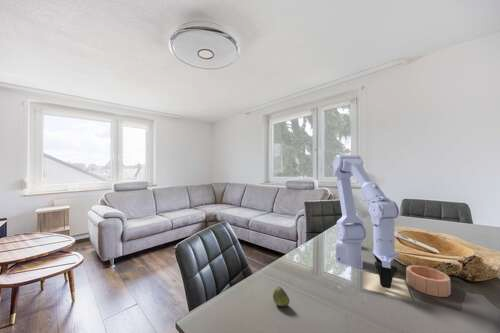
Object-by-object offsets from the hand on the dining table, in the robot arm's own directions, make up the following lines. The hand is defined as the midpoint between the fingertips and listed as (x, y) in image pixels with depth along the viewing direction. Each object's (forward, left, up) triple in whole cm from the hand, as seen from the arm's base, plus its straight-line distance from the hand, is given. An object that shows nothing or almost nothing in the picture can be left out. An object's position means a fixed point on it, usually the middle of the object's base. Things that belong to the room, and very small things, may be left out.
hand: (384, 281), depth 65 cm
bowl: (+12, +6, -2) cm, 13 cm away
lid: (0, 0, -1) cm, 1 cm away
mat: (0, 0, -2) cm, 2 cm away
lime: (-26, -24, -2) cm, 35 cm away
